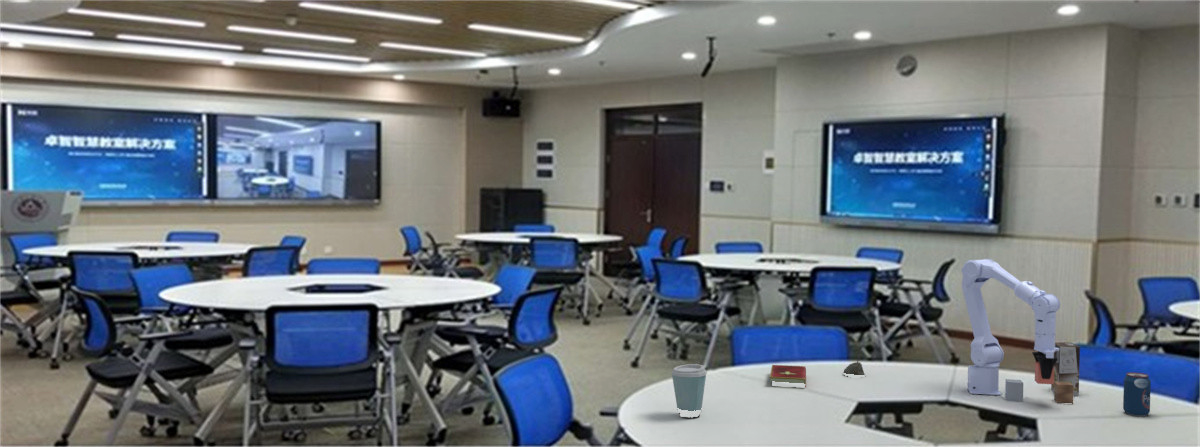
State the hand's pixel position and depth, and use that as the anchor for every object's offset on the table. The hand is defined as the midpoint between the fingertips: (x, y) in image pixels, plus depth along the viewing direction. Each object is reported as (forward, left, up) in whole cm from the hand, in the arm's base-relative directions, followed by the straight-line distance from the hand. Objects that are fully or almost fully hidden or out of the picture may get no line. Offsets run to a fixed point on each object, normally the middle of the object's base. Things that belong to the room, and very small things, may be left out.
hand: (1044, 376), depth 284 cm
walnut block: (+7, +6, -9) cm, 13 cm away
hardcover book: (-79, +16, -10) cm, 81 cm away
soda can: (+25, -5, -9) cm, 27 cm away
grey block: (-7, +6, -9) cm, 13 cm away
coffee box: (+11, +20, -9) cm, 24 cm away
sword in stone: (-56, +31, -9) cm, 65 cm away
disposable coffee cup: (-105, -39, -9) cm, 113 cm away
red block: (0, 0, -2) cm, 2 cm away
